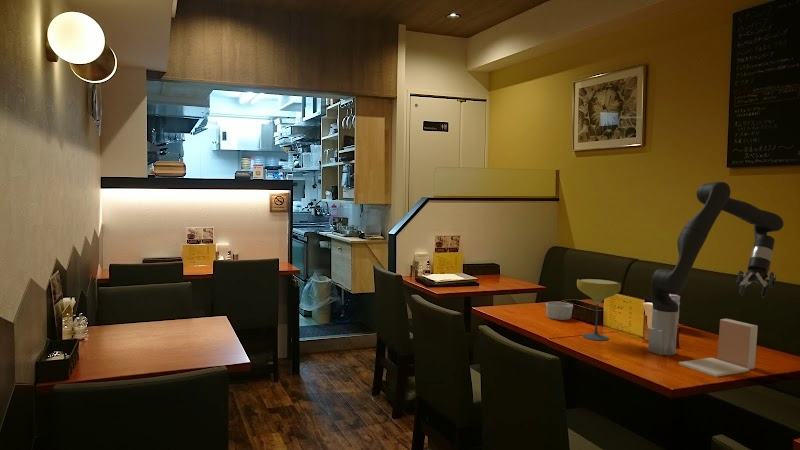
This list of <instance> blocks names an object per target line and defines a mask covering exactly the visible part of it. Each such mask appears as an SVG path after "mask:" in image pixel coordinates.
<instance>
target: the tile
mask: <svg viewBox="0 0 800 450" xmlns="http://www.w3.org/2000/svg"><path fill="white" fill-rule="evenodd" d="M758 328H759V326H758V325H757V324H751V323H748V322H742V321H738V320H735V319H730V318H722V319H720V320H719V330H718V331H719V332H718V343H717V344H718V345H717V358H716V359H718V360H721V361H724V362H728V363H731V364H734V365H738V366H741V367H744V368H747V369H749V370H754V369H755V368H756V367H755V366H756V357H757V356H756V353H757V341H758V339H757V338H758Z"/></svg>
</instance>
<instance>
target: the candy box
mask: <svg viewBox="0 0 800 450" xmlns="http://www.w3.org/2000/svg"><path fill="white" fill-rule="evenodd" d="M669 296H670V298H671V299H672V300H673V301H674V302H676V303H677V304H678V320H677V324H678V326H679V323H680V322H679V321H680V306H681V295H678V294H676V295H673V294H669Z"/></svg>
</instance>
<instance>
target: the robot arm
mask: <svg viewBox="0 0 800 450" xmlns="http://www.w3.org/2000/svg"><path fill="white" fill-rule="evenodd" d="M696 198H697V200H698V201H699V203H700V204H702V205H703V207H702V208H701V210H700V211H699V212H698V213H696V214H695V215H694V216H692V217H691V219H690V220H688V221H687V222H686V224H684V226H683V228H682V229H681V232H680V233H679V235H678V237H677V243H676V244H677V246H676V247H677V251H678V252H677V253H678V260H677V261H676V262H677V263H676V265H675V267H674V269H673V270H672V269H664V268H659V269H657V270H655V271H654V273H653V275H652V277H651V282H650V283H651V285H650V287H651V288H650V289H651V291H650V292H651V295H650V296H651V297H650V299H651V303H652V315H651V327H650V328H649V334H648V335H649V336H648V349H647V350H648V352H650V353H653V354H656V355H659V356H675V355H676V351H677V350H676V349H677V348H676V346H677V336H678V335H677V332H678V331H677V320H678V304H677V303H676V302H674V301H673V300H672V299H671V298H670V296H669V294H673V295H676V294H677V295H678V294H681V292H682V291H683V290H684V288H685V286H686V285H687V283H688V282H687V281H688V279H689V276H690V274H691V270H692V268H693V266H694V264H695V261H696V260H697V258H698V255H699V253H700V252H701V249H702V247H703V246H704V243H705V241H706V240H707V238H708V236H709V233H710V232H711V230H712V228H713V225H715V222H716V220H717V218H718V217H719V216H720V214H721V212H722V211H723V212H726V213H727V214H730V215H732V216H735V217H736V218H739V219H740V220H742V221H744V222H745V223H748V224H750V225H753V233H754V242H753V247H752V250H751V252H750V256H749V257H750V258H749V261H748V265H747V270H746V271H742V270H739V271H738V272H737V273H738V274H737V277H736V279H735V284H736V285H738V286H739V288H738V294H739V295H740V296H741V297H743V296H744V295H745V291H746V287H747V286H749V285H750V284H752V283H753V284H755V283H756V284H761V285H762V286H763V287H762V288H761V293H760V297H761V298H766V297H767V296H768V292H769V289H774V288H775V286H776V279H777V274H775V273H774V272H773V271H772V272H771V271H770V267H771V262H772V260H773V250H774V248H775V242H776V241H775V238H774V237H772V236H771V235H768V233H772V232H779V231H780V230H782V229H783V227H784V222H785V221H784V220H783V218H782V217H781V216H780V215H779V214H777V213H774V212H771V211H767V210H765V209H763V210H762V209H761V208H759V207H757V206H755V205H753V204H751V203H748V202H746V201H743V200H739V199H735V198H731V187H730V185H729V184H728V183H727V182H724V181H713V182H708V183H707V182H706V183H703V184H701V185H699V187H698V188H697V190H696ZM767 278H768V282H767V280H766V279H767Z"/></svg>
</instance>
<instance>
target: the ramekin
mask: <svg viewBox="0 0 800 450" xmlns="http://www.w3.org/2000/svg"><path fill="white" fill-rule="evenodd" d="M545 306H546V310H545V311H546V316H547V318H549V319H551V320H559V321H567V320H570V319H571V318H572V313H573V309H574V305H573V304H571V303H567V302H562V301H548V302H545Z"/></svg>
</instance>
